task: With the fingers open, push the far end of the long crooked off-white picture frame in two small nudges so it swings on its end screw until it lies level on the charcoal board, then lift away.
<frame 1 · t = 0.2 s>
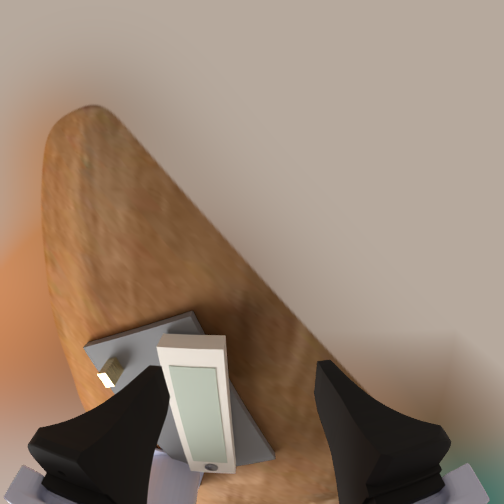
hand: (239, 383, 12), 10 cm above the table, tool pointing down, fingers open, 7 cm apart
frame: (203, 420, 22), point 2 cm above the table, hinge at -20.0°
board: (187, 411, 25), on the table
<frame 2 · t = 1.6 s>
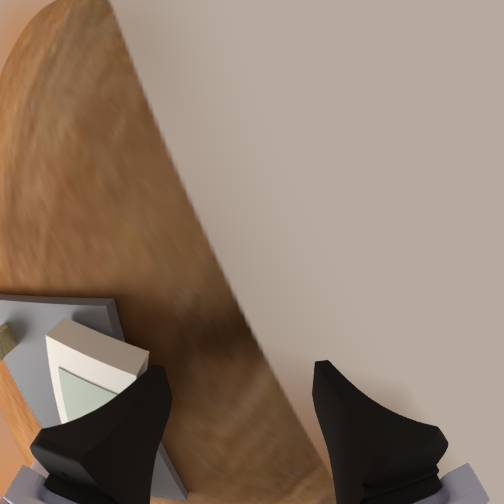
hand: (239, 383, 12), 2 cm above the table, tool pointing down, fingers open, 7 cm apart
frame: (101, 443, 13), point 2 cm above the table, hinge at -20.0°, touching gripper
board: (88, 419, 16), on the table
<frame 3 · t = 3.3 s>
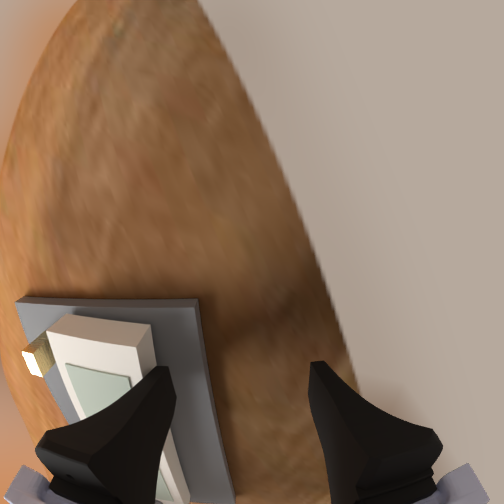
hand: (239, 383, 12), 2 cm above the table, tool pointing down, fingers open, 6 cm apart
frame: (133, 447, 13), point 2 cm above the table, hinge at -4.7°, touching gripper
board: (139, 430, 16), on the table
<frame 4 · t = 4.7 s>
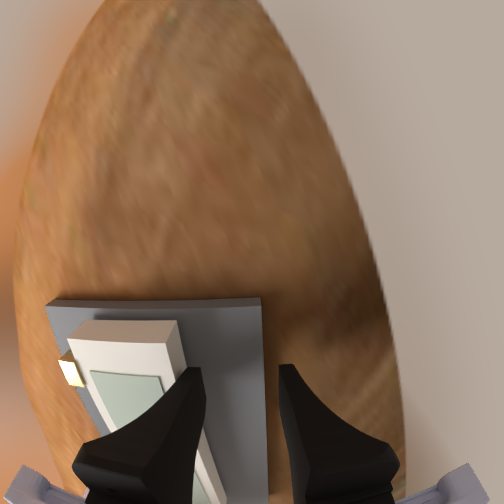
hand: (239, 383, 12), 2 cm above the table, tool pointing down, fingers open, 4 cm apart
frame: (166, 452, 13), point 2 cm above the table, hinge at 1.1°, touching gripper
board: (178, 435, 16), on the table
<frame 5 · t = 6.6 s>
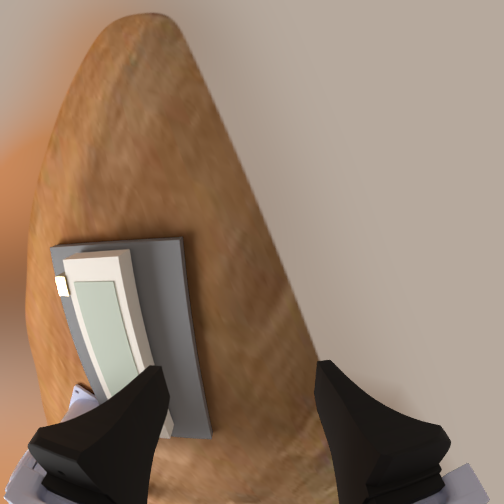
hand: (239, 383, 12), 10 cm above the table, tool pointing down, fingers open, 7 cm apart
frame: (121, 360, 20), point 2 cm above the table, hinge at 1.0°
board: (134, 355, 23), on the table
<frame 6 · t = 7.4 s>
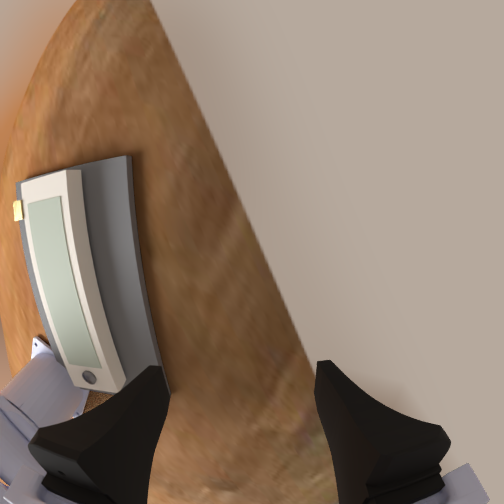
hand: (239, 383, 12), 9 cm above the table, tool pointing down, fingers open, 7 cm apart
frame: (67, 292, 18), point 2 cm above the table, hinge at 1.0°
board: (85, 293, 21), on the table
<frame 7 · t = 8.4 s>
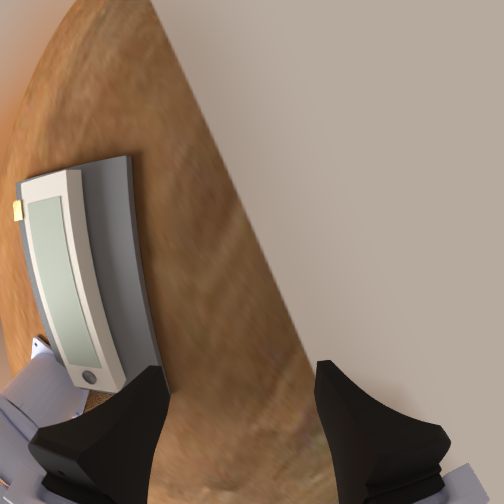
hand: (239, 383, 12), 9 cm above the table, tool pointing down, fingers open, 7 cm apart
frame: (67, 292, 18), point 2 cm above the table, hinge at 1.0°
board: (85, 293, 21), on the table
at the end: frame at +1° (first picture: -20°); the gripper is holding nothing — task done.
